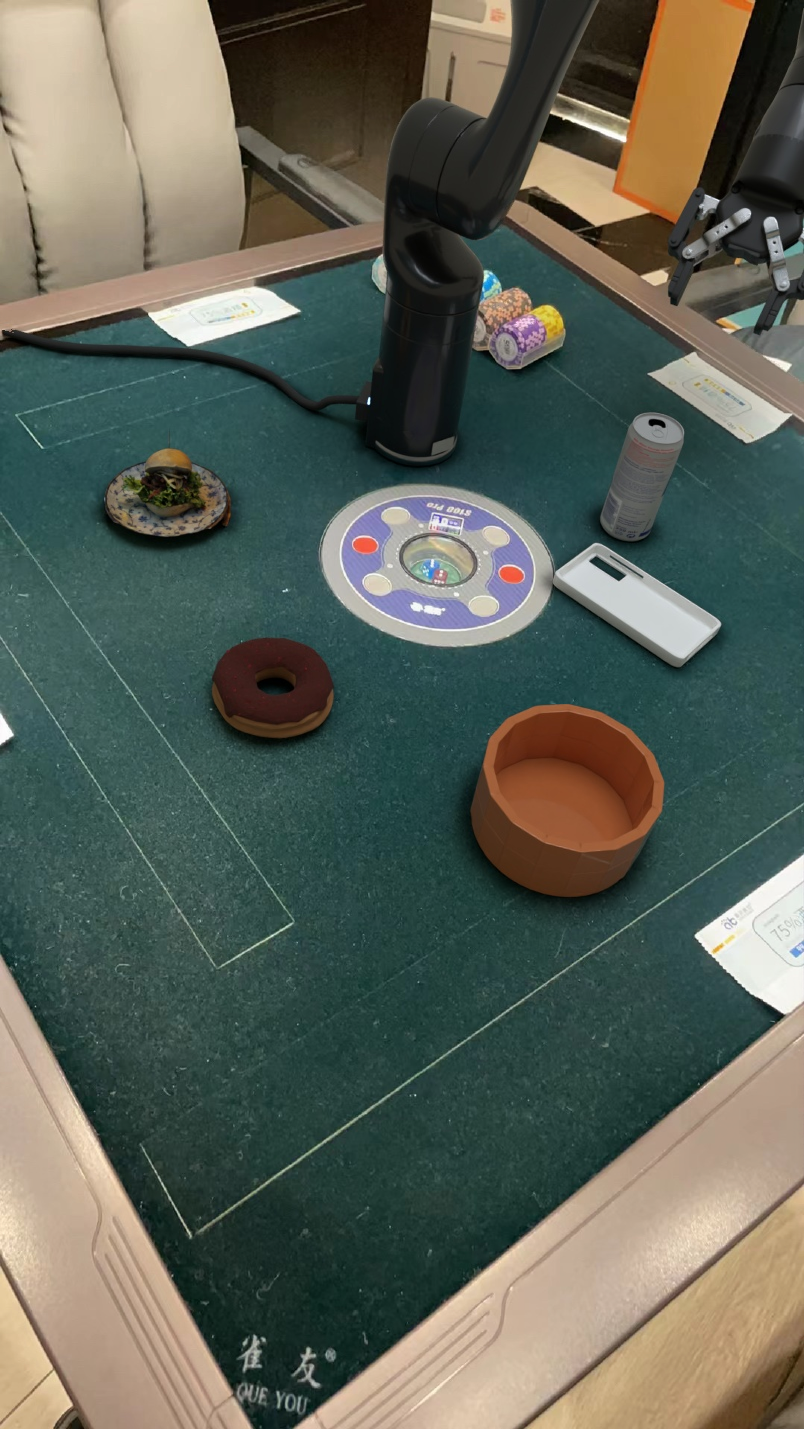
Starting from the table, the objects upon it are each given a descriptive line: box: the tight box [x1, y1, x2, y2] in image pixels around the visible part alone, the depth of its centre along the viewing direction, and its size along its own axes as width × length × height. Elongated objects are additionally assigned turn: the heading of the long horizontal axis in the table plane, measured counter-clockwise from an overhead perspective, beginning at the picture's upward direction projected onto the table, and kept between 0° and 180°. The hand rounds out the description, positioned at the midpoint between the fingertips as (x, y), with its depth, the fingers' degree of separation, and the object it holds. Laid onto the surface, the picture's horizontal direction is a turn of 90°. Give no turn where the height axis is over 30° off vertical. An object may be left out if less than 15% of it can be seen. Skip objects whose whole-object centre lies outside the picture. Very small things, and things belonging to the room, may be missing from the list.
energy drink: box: [599, 412, 685, 542], centre depth 104 cm, size 5×5×12 cm
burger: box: [103, 428, 232, 538], centre depth 100 cm, size 12×12×8 cm
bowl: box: [470, 703, 665, 898], centre depth 81 cm, size 14×14×6 cm
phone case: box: [552, 542, 722, 668], centre depth 100 cm, size 7×1×15 cm
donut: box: [211, 637, 335, 739], centre depth 87 cm, size 10×10×4 cm
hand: (714, 317), depth 101 cm, fingers open, 8 cm apart
